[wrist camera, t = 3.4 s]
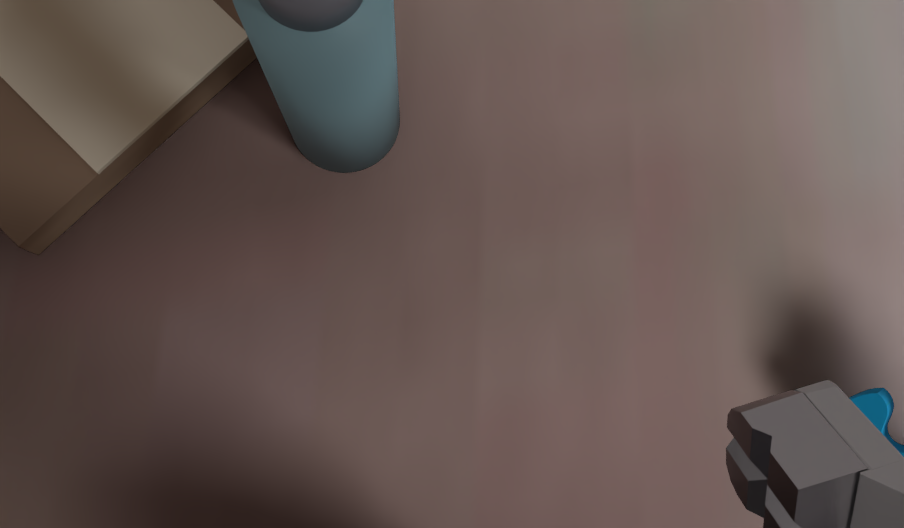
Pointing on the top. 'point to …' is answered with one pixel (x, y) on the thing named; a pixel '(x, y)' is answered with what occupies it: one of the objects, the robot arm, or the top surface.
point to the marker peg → (330, 75)
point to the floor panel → (99, 97)
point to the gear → (877, 410)
